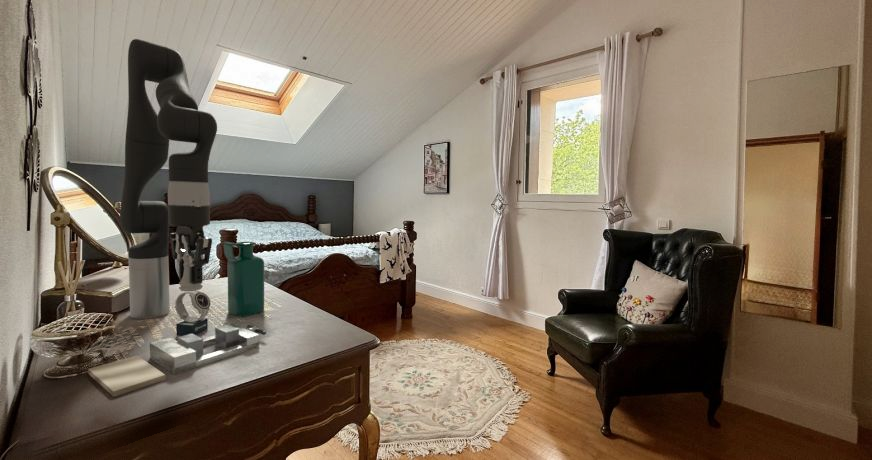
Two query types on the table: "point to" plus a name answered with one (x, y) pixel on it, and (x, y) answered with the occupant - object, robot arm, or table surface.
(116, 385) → the board
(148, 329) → the table surface
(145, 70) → the robot arm
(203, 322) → the watch
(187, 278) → the rook chess piece
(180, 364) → the vise
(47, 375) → the table surface
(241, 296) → the pitcher
